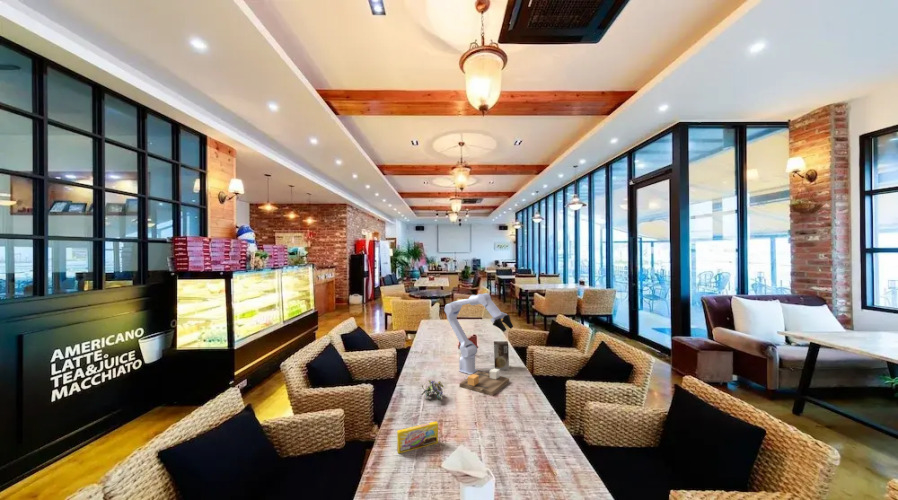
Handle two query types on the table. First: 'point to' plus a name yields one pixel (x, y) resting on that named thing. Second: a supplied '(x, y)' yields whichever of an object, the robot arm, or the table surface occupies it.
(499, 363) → the coffee box
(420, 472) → the table surface
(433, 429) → the candy box
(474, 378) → the orange fader
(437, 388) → the passion flower
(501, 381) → the console
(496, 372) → the white fader
